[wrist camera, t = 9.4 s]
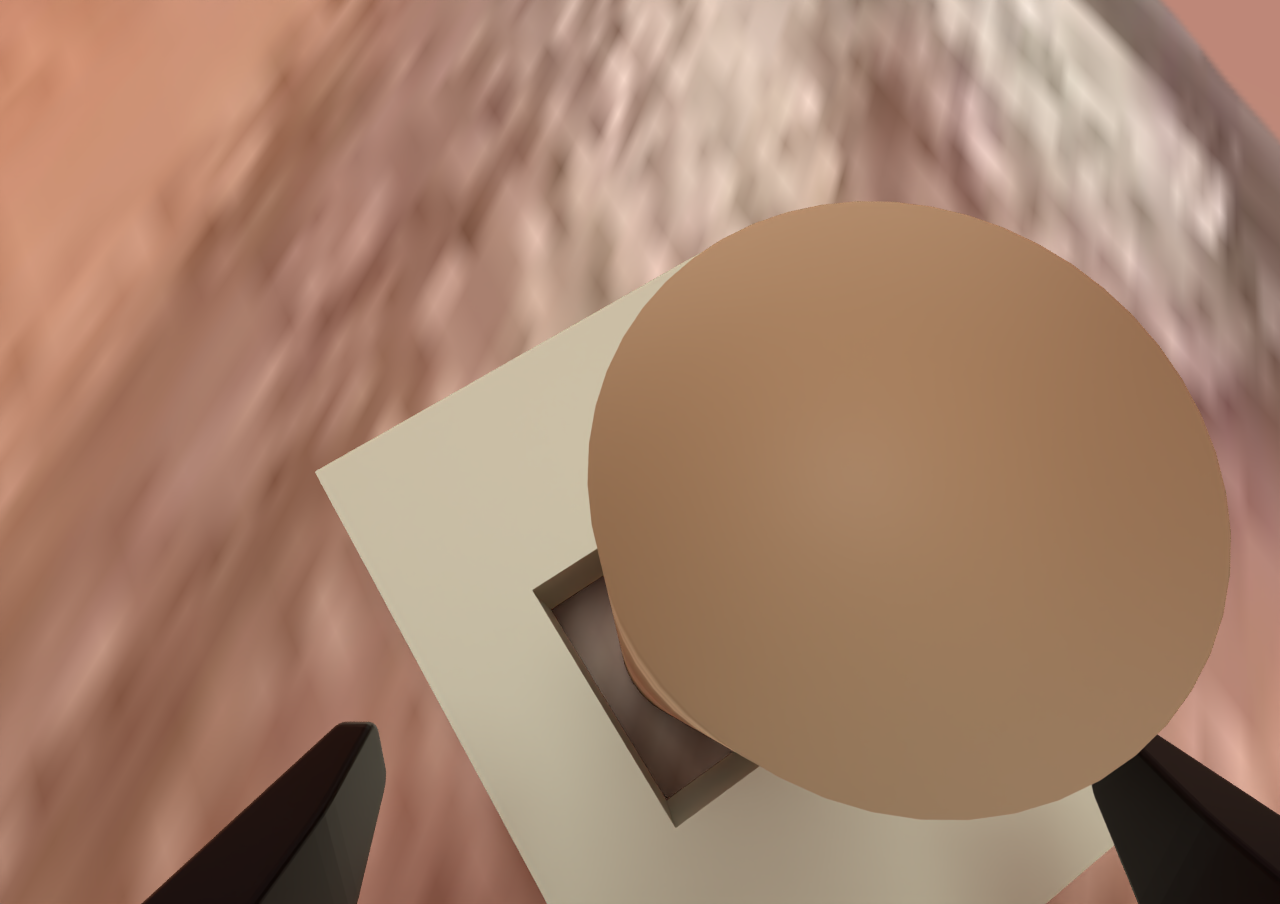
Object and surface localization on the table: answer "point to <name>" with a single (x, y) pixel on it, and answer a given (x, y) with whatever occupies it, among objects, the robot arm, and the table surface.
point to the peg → (906, 512)
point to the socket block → (573, 704)
